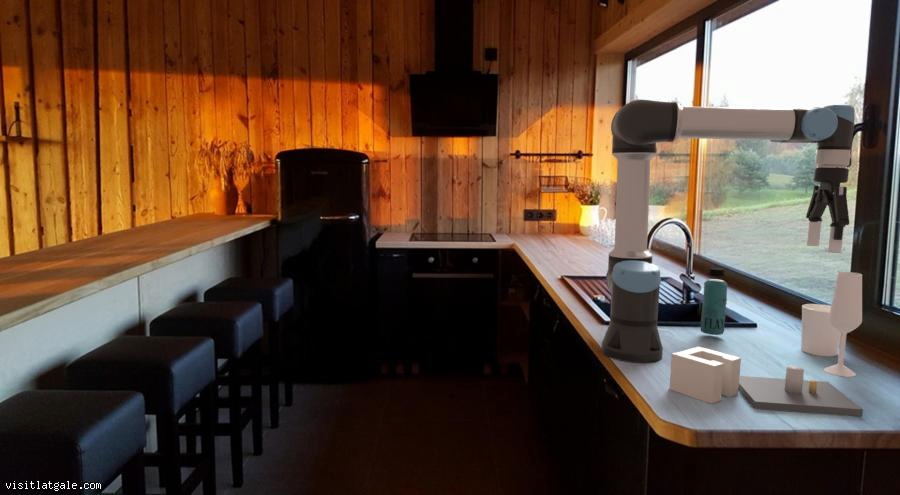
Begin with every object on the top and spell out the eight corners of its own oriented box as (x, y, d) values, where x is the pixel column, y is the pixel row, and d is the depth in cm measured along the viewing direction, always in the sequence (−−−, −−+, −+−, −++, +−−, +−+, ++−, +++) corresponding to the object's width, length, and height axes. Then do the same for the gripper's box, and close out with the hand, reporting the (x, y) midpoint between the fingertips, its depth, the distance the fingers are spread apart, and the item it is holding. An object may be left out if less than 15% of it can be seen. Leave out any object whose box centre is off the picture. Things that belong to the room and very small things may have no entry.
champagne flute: (843, 378, 146) (854, 276, 143) (817, 369, 152) (826, 271, 149) (862, 374, 149) (873, 275, 146) (835, 366, 155) (845, 270, 152)
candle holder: (846, 359, 161) (851, 313, 160) (805, 355, 163) (809, 310, 162) (831, 348, 171) (836, 305, 169) (792, 345, 173) (796, 302, 171)
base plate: (754, 408, 127) (757, 377, 126) (731, 381, 142) (734, 354, 141) (862, 416, 124) (865, 384, 123) (827, 388, 139) (830, 360, 138)
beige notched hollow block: (669, 389, 137) (671, 353, 136) (695, 380, 143) (698, 346, 142) (711, 403, 129) (714, 366, 128) (737, 394, 135) (741, 358, 134)
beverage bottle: (699, 338, 178) (704, 269, 175) (699, 332, 184) (704, 265, 181) (724, 341, 175) (730, 270, 173) (723, 335, 182) (729, 267, 179)
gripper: (871, 167, 148) (861, 256, 150) (827, 167, 172) (819, 243, 175) (837, 166, 149) (827, 255, 152) (797, 166, 173) (790, 242, 176)
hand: (823, 249), depth 163 cm, fingers open, 13 cm apart
